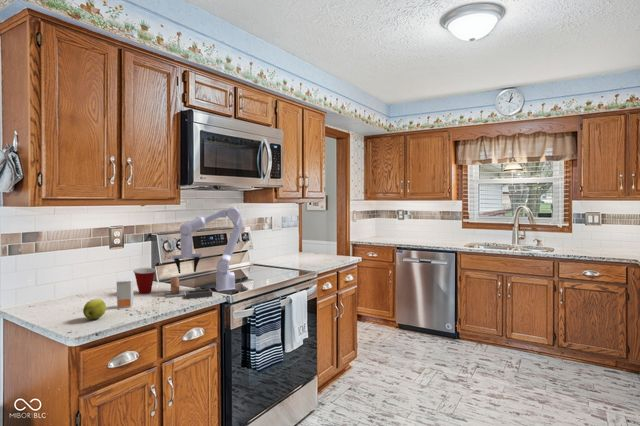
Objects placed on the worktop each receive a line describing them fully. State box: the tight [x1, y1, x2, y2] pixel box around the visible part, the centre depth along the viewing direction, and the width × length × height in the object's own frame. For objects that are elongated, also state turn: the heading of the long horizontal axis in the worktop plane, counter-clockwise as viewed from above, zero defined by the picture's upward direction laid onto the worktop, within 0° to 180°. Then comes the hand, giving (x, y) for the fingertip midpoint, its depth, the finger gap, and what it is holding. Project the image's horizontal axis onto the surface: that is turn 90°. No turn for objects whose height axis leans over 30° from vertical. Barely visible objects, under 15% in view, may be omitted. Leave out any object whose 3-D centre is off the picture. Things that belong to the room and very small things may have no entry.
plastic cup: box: [133, 267, 157, 295], centre depth 211 cm, size 11×11×12 cm
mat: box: [164, 290, 187, 299], centre depth 206 cm, size 9×9×1 cm
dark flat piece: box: [185, 286, 213, 300], centre depth 204 cm, size 12×9×3 cm
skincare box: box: [116, 278, 134, 309], centre depth 185 cm, size 6×4×12 cm
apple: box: [82, 298, 107, 320], centre depth 167 cm, size 8×9×8 cm
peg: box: [170, 276, 180, 295], centre depth 206 cm, size 4×4×8 cm
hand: (187, 272), depth 214 cm, fingers open, 7 cm apart
